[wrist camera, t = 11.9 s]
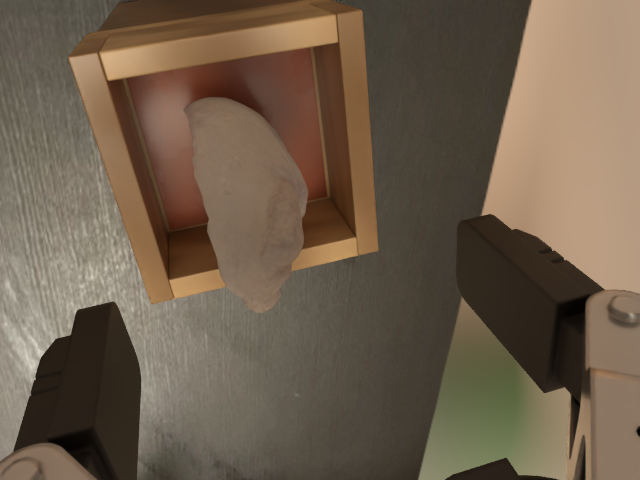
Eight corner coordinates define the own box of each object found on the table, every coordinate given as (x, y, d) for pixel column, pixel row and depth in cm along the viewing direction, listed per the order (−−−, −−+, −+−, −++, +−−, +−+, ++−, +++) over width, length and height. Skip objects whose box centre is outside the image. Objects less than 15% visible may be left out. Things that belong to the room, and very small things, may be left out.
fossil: (166, 79, 21) (171, 173, 12) (254, 54, 21) (317, 129, 12) (214, 209, 24) (243, 358, 15) (290, 186, 24) (360, 318, 15)
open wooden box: (152, 243, 25) (151, 304, 21) (86, 33, 20) (66, 56, 16) (344, 202, 26) (378, 250, 22) (323, -3, 22) (362, 9, 17)
